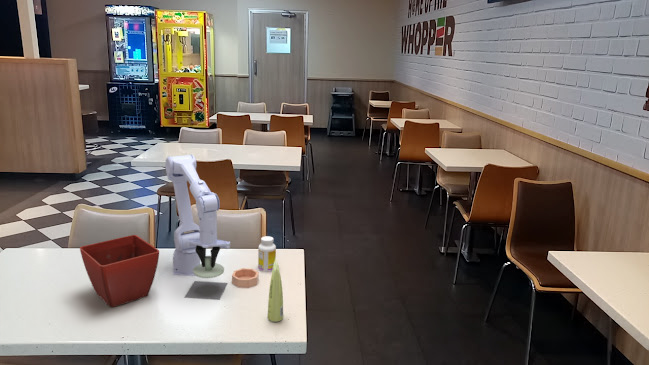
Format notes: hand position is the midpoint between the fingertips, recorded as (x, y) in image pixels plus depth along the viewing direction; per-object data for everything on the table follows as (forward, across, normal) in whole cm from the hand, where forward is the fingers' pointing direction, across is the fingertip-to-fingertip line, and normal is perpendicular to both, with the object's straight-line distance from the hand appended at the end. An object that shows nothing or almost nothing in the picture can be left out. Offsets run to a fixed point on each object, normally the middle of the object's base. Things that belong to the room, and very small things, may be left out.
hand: (208, 266), depth 169 cm
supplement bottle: (+10, +17, +20) cm, 28 cm away
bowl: (+9, +11, +8) cm, 16 cm away
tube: (+10, +25, -14) cm, 31 cm away
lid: (+2, 0, 0) cm, 2 cm away
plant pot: (+10, -28, -7) cm, 30 cm away
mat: (+9, -1, 0) cm, 9 cm away
